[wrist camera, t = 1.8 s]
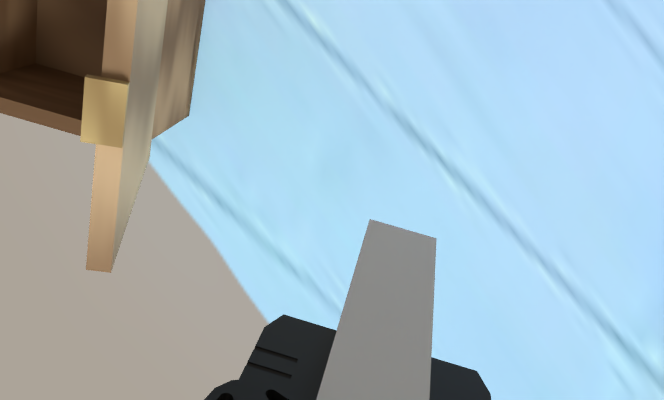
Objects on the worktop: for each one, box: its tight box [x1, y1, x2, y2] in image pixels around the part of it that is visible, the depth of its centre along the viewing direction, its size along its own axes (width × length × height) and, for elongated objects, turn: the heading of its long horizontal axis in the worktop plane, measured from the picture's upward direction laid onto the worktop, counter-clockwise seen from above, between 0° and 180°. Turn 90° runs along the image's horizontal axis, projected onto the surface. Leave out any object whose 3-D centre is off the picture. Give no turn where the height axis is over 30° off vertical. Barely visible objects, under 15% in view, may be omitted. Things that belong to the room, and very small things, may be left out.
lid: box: [80, 0, 168, 273], centre depth 23 cm, size 11×10×1 cm
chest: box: [0, 0, 205, 139], centre depth 31 cm, size 11×10×7 cm
